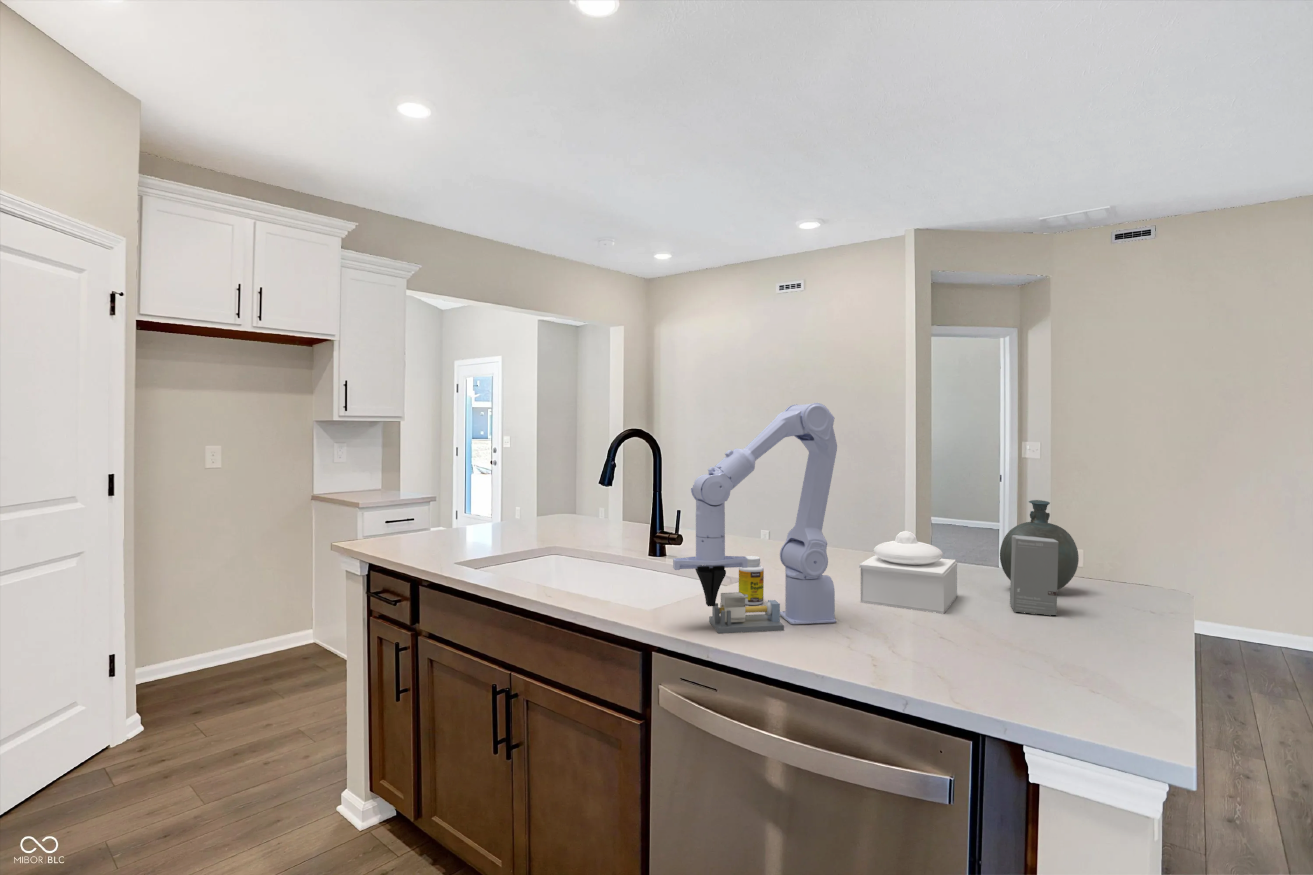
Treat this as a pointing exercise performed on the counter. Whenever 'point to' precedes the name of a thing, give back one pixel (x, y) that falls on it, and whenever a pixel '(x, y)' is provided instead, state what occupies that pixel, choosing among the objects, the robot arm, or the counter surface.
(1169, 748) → the counter surface
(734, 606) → the sleeve
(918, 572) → the white lidded box
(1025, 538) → the skincare box
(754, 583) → the supplement bottle
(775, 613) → the linear actuator
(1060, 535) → the flask
